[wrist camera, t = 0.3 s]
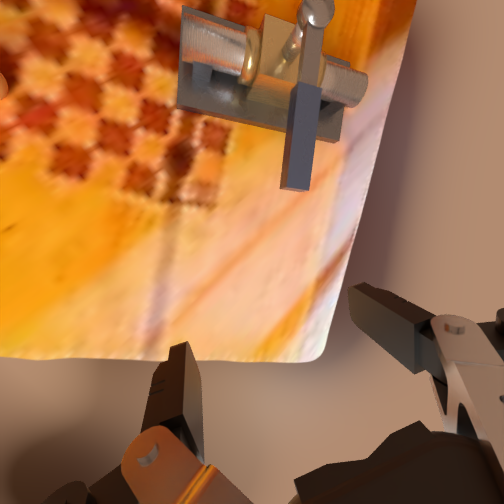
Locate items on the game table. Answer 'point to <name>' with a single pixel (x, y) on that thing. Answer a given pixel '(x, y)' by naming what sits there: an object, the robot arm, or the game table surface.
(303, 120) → the valve lever
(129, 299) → the game table surface
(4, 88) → the figurine
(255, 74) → the valve body
